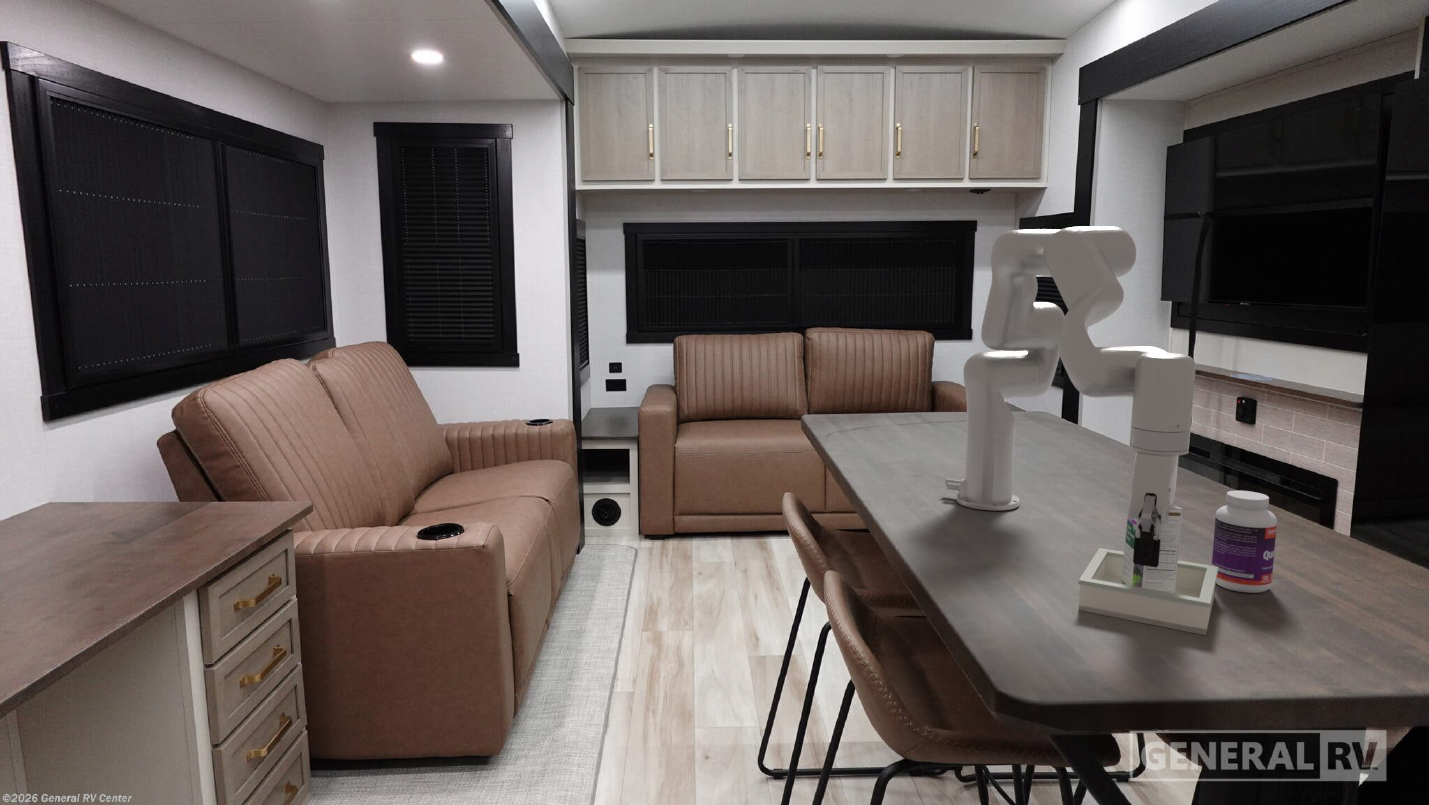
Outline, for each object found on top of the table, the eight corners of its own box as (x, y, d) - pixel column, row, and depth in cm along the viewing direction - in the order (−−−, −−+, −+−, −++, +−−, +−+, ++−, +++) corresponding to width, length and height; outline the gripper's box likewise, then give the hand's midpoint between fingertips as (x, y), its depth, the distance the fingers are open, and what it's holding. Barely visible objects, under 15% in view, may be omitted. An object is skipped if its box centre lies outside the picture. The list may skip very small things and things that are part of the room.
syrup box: (1119, 589, 129) (1125, 495, 127) (1161, 590, 129) (1168, 496, 126) (1133, 603, 124) (1140, 506, 122) (1176, 605, 123) (1184, 507, 121)
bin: (1076, 610, 124) (1078, 580, 123) (1097, 575, 137) (1099, 547, 137) (1207, 636, 115) (1210, 603, 114) (1216, 596, 128) (1218, 566, 128)
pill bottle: (1271, 599, 127) (1280, 505, 125) (1208, 589, 131) (1216, 497, 129) (1270, 582, 134) (1279, 492, 131) (1211, 572, 138) (1218, 485, 136)
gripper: (1138, 426, 131) (1130, 534, 134) (1120, 448, 117) (1112, 568, 120) (1194, 432, 127) (1185, 542, 130) (1182, 455, 113) (1172, 578, 116)
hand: (1150, 554), depth 125 cm, fingers open, 9 cm apart
